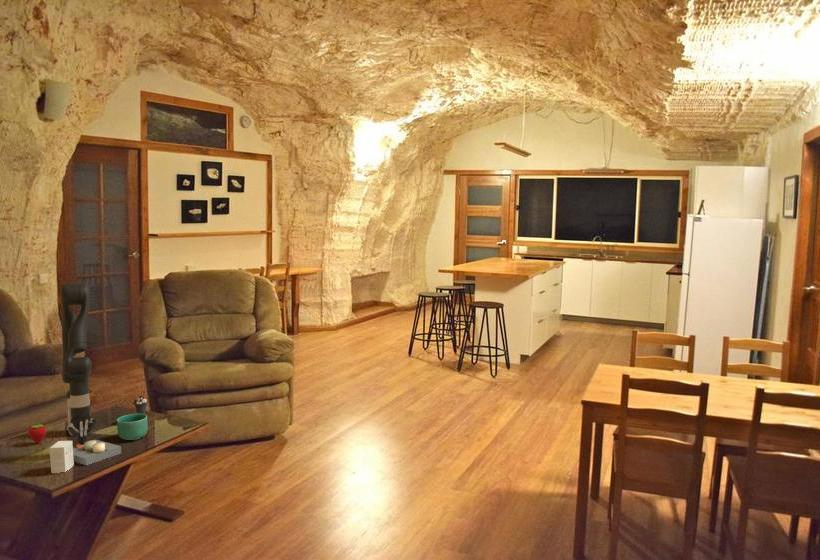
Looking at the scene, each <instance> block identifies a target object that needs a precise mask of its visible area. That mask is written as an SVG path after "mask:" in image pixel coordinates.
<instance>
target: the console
mask: <svg viewBox="0 0 820 560" xmlns="http://www.w3.org/2000/svg"><path fill="white" fill-rule="evenodd" d="M94 440H95V441H97V443H105V452H102V453H99V454H95V453H93V450H92V451H90V452H88V451H85V448H83V449H78V448H77V445H75V446H73V459H74V463H75V462H76V463H75V464H79V463H80V464H79V465H82V464H83V465H82V466H85V465H87V466H90V465H92V463H93V464H95V463H98V462H100V461H104V460H106V458H107V459H109V458H112V457H115V456H117V455H118V456H119V455H120V454H122V446H120V445H117V444H113V443H110V442H106V441H103V440H98V439H94ZM103 459H104V460H103ZM94 462H95V463H94ZM89 464H90V465H89Z"/></svg>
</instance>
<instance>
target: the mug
mask: <svg viewBox="0 0 820 560" xmlns="http://www.w3.org/2000/svg"><path fill="white" fill-rule="evenodd" d="M116 426H117V427H116V429H117V435H118V437H119V438H120V439H123V440H125V441H127V440H134V441H137V439H138V440H140V439H142V438H143V437H145V435H147V432H148V430H149V429H148V428H149V425H148V415H147V414H146V413H145V414H137V413H131V414H125V415H122V416H120V417H118V418H117V419H116ZM141 437H142V438H141Z"/></svg>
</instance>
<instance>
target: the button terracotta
mask: <svg viewBox="0 0 820 560" xmlns="http://www.w3.org/2000/svg"><path fill="white" fill-rule="evenodd" d="M76 446H77V448H78V449H83V448H85V446H84V445H80V444H79V443H77V444H76Z"/></svg>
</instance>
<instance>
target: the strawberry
mask: <svg viewBox="0 0 820 560" xmlns="http://www.w3.org/2000/svg"><path fill="white" fill-rule="evenodd" d="M30 427H31V428H29V429H28V430H27V431H28V432H27V434H28V436H29V438H30V440H32V441H33V442H34V443H35V444H36V445H37V444H38V445H39V444H41V443H42V441H43V440H44V439H45V437H46V436H47V432H48V430H47V428H46V427H45V425H43V424H42V423H39V424H37V425H32V426H30Z"/></svg>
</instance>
